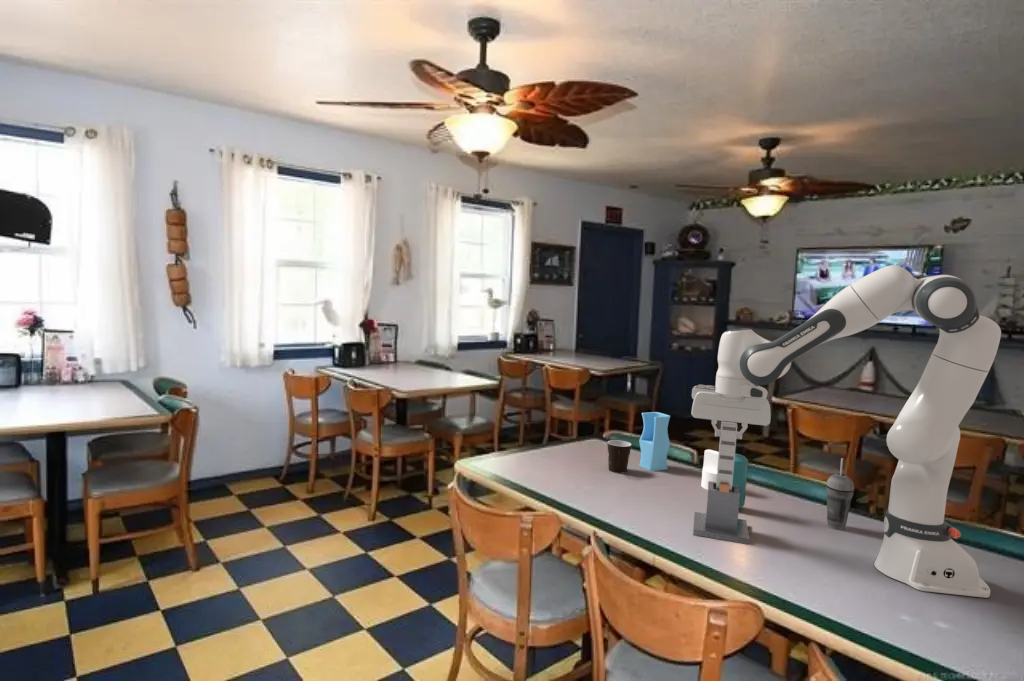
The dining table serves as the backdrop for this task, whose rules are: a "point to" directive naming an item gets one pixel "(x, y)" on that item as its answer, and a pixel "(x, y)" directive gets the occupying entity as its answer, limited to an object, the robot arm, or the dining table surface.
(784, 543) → the dining table surface
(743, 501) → the beverage bottle
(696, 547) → the dining table surface
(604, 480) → the dining table surface
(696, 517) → the stand
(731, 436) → the column
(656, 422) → the vase
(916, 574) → the robot arm
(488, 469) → the dining table surface
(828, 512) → the beverage cup
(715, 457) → the white cylinder
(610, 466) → the coffee mug
